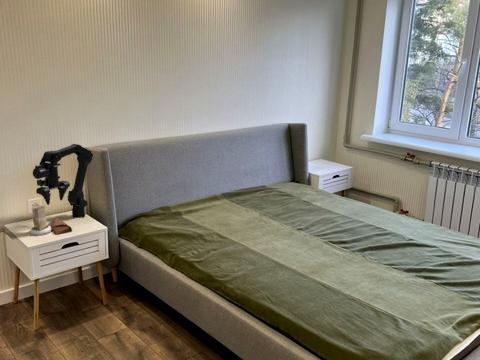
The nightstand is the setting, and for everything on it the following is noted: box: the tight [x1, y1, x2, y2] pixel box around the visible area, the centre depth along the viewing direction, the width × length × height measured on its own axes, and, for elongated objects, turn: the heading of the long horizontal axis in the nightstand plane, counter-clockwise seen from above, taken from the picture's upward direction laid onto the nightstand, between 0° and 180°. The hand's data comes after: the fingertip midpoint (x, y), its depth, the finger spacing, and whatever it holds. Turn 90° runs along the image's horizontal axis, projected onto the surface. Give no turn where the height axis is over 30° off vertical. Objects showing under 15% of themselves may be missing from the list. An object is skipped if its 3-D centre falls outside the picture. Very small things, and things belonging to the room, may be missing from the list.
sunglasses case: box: [47, 217, 73, 236], centre depth 249 cm, size 18×7×7 cm, turn 44°
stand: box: [29, 226, 52, 236], centre depth 244 cm, size 10×10×2 cm
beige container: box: [31, 204, 48, 231], centre depth 242 cm, size 5×6×12 cm
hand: (54, 202), depth 251 cm, fingers open, 9 cm apart
